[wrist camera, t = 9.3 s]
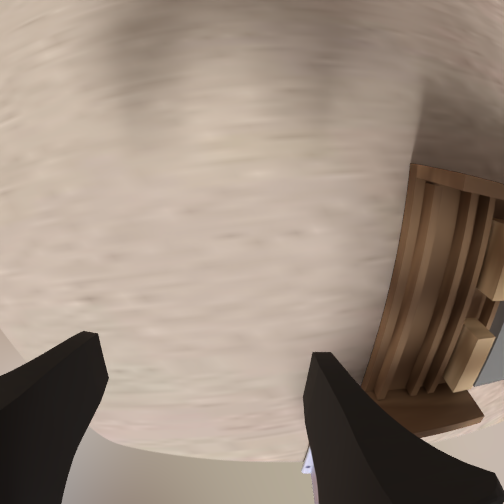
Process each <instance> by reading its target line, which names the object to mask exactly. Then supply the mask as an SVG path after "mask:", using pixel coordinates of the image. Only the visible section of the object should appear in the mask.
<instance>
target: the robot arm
mask: <svg viewBox="0 0 504 504" xmlns="http://www.w3.org/2000/svg"><path fill="white" fill-rule="evenodd" d="M108 379H109V377H108V373H107V369H106V365H105V361H104V357H103V353H102V349H101V345H100V340H99V336H98V333H92V332H86V331H82V332H80V333H78V334H76V335H75V336H73V337H71V338H69V339H67V340H66V341H64V342H62V343H61V344H59V345H57V346H56V347H54V348H52V349H50V350H49V351H47V352H45V353H44V354H42V355H40V356H39V357H37V358H35V359H33V360H31V361H29V362H28V363H26V364H24V365H22V366H20V367H18V368H16V369H14V370H13V371H10V372H8V373H6V374H4V375H1V376H0V504H61V503H62V497H63V493H64V489H65V485H66V481H67V477H68V474H69V470H70V467H71V464H72V461H73V458H74V455H75V453H76V450H77V447H78V445H79V443H80V442H81V439H82V437H83V436H84V433H85V432H86V429H87V428H88V426H89V424H90V422H91V420H92V418H93V416H94V414H95V412H96V410H97V408H98V406H99V404H100V402H101V399H102V397H103V394H104V391H105V388H106V385H107V382H108ZM303 402H304V416H305V425H306V430H307V435H308V440H309V444H310V446H309V449H308V452H307V455H306V458H305V461H304V463H303V466H302V473H311V477H312V484H313V493H314V500H315V504H503V502H504V490H503V488H502V486H501V484H500V482H499V480H498V478H497V476H496V474H495V473H493V472H490V471H487V470H484V469H482V468H479V467H476V466H473V465H470V464H467V463H465V462H463V461H460V460H458V459H456V458H454V457H452V456H450V455H448V454H446V453H444V452H442V451H440V450H438V449H436V448H435V447H433V446H431V445H430V444H428V443H427V442H425V441H423V440H422V439H420V438H419V437H417V436H416V435H414V434H413V433H411V432H410V431H409V430H407V429H406V428H405V427H403V426H402V425H401V424H400V423H398V422H397V421H396V420H394V419H393V418H392V417H391V416H390V415H389V414H387V413H386V412H385V411H384V410H383V409H382V408H381V407H380V406H379V405H378V404H377V403H376V402H375V401H374V400H373V399H372V398H371V397H370V396H369V395H368V394H367V393H366V392H365V391H364V390H363V389H362V388H361V387H360V386H359V385H358V383H357V382H356V381H355V380H354V379H353V378H352V377H351V375H350V374H349V373H348V372H347V371H346V370H345V368H344V367H343V366H342V365H341V364H340V362H339V361H338V360H337V359H336V358H335V356H334V355H333V354H332V353H331V352H313V353H312V358H311V363H310V367H309V372H308V377H307V381H306V386H305V391H304V395H303Z"/></svg>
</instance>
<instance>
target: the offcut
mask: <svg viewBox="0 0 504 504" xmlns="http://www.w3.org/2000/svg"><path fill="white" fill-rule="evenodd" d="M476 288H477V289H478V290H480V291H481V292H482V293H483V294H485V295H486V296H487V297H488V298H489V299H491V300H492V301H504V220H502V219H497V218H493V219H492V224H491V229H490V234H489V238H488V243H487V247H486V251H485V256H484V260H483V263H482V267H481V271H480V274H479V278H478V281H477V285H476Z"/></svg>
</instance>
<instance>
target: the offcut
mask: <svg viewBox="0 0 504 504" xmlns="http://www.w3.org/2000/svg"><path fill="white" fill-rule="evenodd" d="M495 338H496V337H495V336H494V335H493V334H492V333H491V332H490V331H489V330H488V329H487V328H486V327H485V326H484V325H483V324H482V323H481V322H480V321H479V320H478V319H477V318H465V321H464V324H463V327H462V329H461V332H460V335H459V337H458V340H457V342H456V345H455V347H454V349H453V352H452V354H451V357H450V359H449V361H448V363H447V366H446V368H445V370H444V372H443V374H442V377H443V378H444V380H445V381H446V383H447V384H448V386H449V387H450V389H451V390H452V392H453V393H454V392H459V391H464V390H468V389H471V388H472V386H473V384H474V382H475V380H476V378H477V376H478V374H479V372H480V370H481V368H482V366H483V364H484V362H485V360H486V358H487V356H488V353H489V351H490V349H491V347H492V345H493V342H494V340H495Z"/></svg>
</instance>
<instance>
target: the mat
mask: <svg viewBox="0 0 504 504" xmlns="http://www.w3.org/2000/svg"><path fill="white" fill-rule="evenodd" d="M489 331H490V332H491V333H492V334H493V335H494V336H495V337H496V338H495V340H494V342H493V345H492V347H491V349H490V351H489V353H488V356H487V358H486V360H485V362H484V364H483V366H482V368H481V370H480V372H479V374H478V376H477V378H476V380H475V382H474V384H473V386H474V387H476V386H480V385H484V384H489V383H493V382H497V381H500V380H504V301H500V303H499V306H498V309H497V311H496V314H495V317H494V320H493V322H492V325H491V327H490V330H489Z"/></svg>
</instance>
